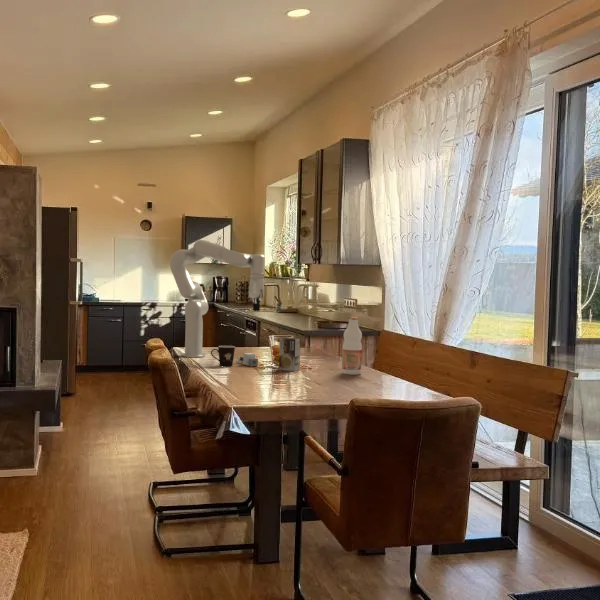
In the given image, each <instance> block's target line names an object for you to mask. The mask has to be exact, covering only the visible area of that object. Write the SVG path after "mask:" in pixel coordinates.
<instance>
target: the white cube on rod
mask: <svg viewBox="0 0 600 600" xmlns="http://www.w3.org/2000/svg"><path fill="white" fill-rule="evenodd" d="M242 354H243V355H242V357H243V363H242V364H243V365H245V366H249V363H248V361H249V359H250V358H256V354H255V353H253V352H247V353H246V352H245V353H242Z"/></svg>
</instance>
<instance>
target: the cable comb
mask: <svg viewBox="0 0 600 600" xmlns="http://www.w3.org/2000/svg"><path fill="white" fill-rule="evenodd" d="M236 357H237V360H235V364H242V363H241V362H243V361H241V360H240V357H241V356H239V355H238V356H236Z"/></svg>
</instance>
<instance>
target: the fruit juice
mask: <svg viewBox="0 0 600 600" xmlns="http://www.w3.org/2000/svg"><path fill="white" fill-rule="evenodd" d="M358 321H359V317H358V316H348V324H347V327H346V329H345V330H344V331H343V340H344V341H343V343H342V356H341V357H342V359H341V360H342V361H341V373H342V374H343V375H348V376H349V375H351V376H356V375H360V374H361V373H362V353H363V352H362V350H363V346H362V345H363V343H362V338H363V333H362V330H361V329H360V327H359V322H358Z"/></svg>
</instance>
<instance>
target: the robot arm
mask: <svg viewBox="0 0 600 600" xmlns="http://www.w3.org/2000/svg"><path fill="white" fill-rule="evenodd" d="M205 258H208V259H212V260H214V261H217V262H220V263H225V264H227V265H230V266H231V265H232V266H235V267H237V268H250V280H249V286H248V297H249V298H250V299H251V300H252V303H253V304H252V305H253V306H252V311H253V312H259V311H261V310H260V309H261V301H263V298H264V296H265V282H264V281H265V270H266V269H265V267H266V266H265V265H266V264H265V263H266V255H264V254H258V253H257V254H255V253H254V254H251V253H250V254H249V253H245V252H243V253H241V252H238V251H235V250H232V249H229V248H226V246H224V245H221V244H217V243H214V242H210V241H209V240H205V239H198V240H197V241H195V242H194V244H193V247H191V248H189V249H185V248H183V249H178V250H176V251H175V252H174V253H173V254H172V255H171V258H170V260H169V267H170V272H171V273H172V276H173V278H174V281H175V283H176V286H177V288H178V291H179V295H180V296H181V297H182V298H184V299H188V301H187V302H186V304H185V306H184V316H185V317H184V318H185V332H184V333H185V336H184V337H185V339H184V340H185V341H184V352H183V353H181V356H182V357H185V358H204V357H206V354H205V353H203V338H204V337H203V335H204V334H203V333H204V331H203V330H204V326H203V325H204V322H203V321H204V320H203V316H204V315H206V314H207V313H208V312H209V303H208V300H207V298H206V296H205V293H204V291H203V289H202V286H201V285H200V283H198V282H196V281H194V280H192V278H191V275H190V272H189V271H188V269H187V267H186V266H190V265H193V264H195V263H197V262H199V261H201V260H203V259H205Z"/></svg>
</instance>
